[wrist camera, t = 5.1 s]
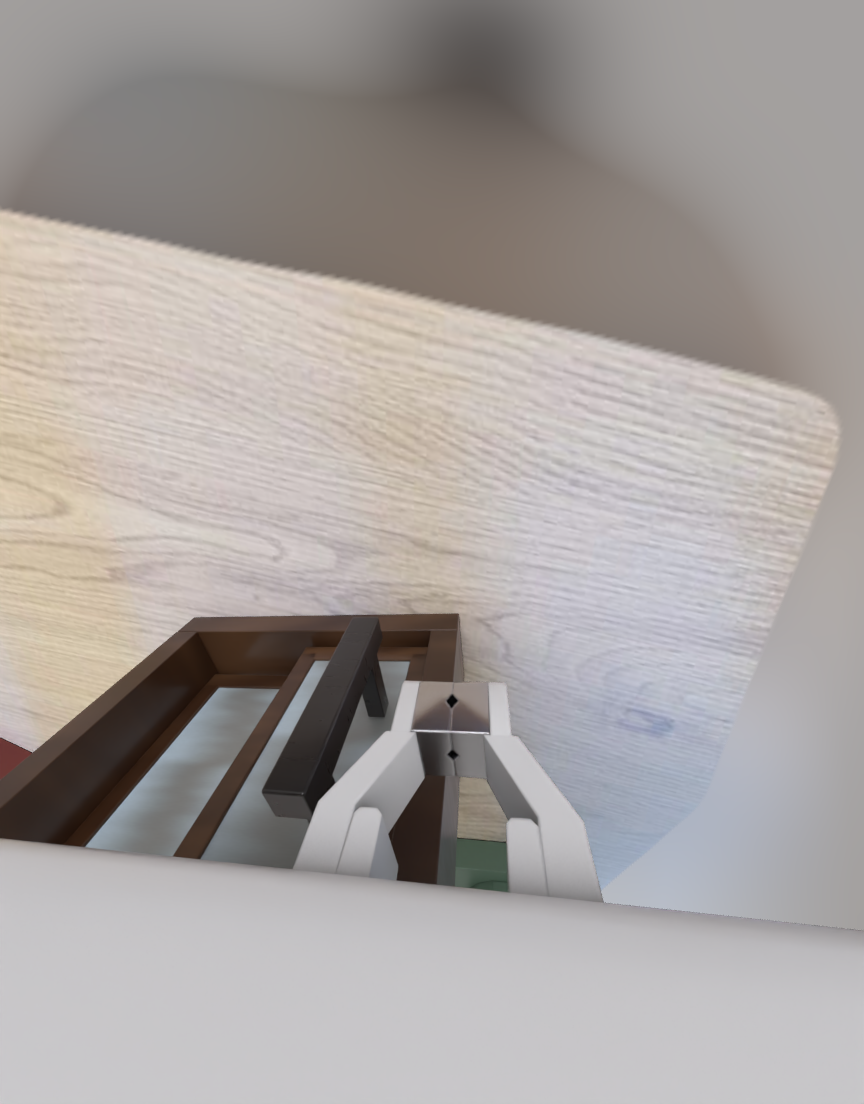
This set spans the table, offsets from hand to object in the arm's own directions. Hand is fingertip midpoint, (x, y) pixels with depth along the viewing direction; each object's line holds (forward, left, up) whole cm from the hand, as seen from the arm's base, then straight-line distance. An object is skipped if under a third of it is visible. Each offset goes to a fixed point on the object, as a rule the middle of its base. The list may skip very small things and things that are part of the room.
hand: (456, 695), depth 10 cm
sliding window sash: (+6, +3, -7) cm, 10 cm away
